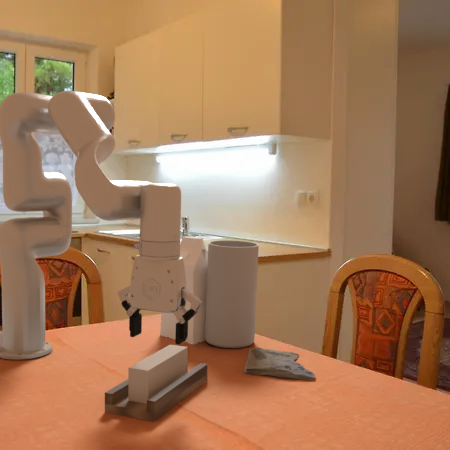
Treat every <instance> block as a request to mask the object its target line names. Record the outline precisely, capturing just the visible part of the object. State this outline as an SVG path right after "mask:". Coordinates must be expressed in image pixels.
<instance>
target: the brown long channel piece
mask: <svg viewBox="0 0 450 450" xmlns="http://www.w3.org/2000/svg"><path fill="white" fill-rule="evenodd" d="M206 382H208V364H207V363H202V362H200V363H199V364H197V365H196V366H194V367H193V368H192V369H189V370H188V372H187V373H186V374H184V375H183V376H181V377H180V378H178V379H177V380H175V381H174V382H173V383H171V384H170V385H168V386H167V387H165V388H164V389H162V390H161V391H160V392H158V393H157V394H155V395H154V396H152V397H151V398H149V399H148V400H147V404H146V403H140V402H134V401H129V400H128V378H127V379H125V380H124V381H122V382H121V383H119V384H117V385H116V386H113V387H112V388H110V389H109V390H107V391H105V392H104V413H106V414H107V413H108V414H114V415H117V416H118V415H119V416H123V417H128V418H129V417H130V418H134V419H140V420H146V421H150V422H156V421H157V420H159V419H160V418H161V417H162V416H164V415H165V414H166V413H167V412H169V411H170V410H172V409H173V408H174V407H175V406H177V405H178V404H179V403H181V402H183V400H184V399H185V398H187V397H188V396H190V395H191V394H192V393H193V392H195V391H196V390H198V389H199V388H200V387H201V386H203V385H204V384H205V383H206Z"/></svg>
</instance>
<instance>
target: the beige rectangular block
mask: <svg viewBox="0 0 450 450" xmlns="http://www.w3.org/2000/svg"><path fill="white" fill-rule="evenodd" d="M188 349H189V347H188V346H182V345H178V344H169V345H166V346H165V347H163V348H161V349H159V350H158V351H156V352H154V353H152V354H150V355H148V356H147V357H144V358H143V359H142V360H139V361H137V362H135V363H134V364H132V365H131V366H129V367H128V371H127V372H128V375H127V376H128V378H127V379H128V400H129V401H134V402H140V403H146V404H147V400H148V399H149V398H151V397H152V396H154V395H155V394H157V393H158V392H160V391H161V390H162V389H164V388H165V387H167V386H168V385H170V384H171V383H173V382H174V381H175V380H177V379H178V378H180V377H181V376H183V375H184V374H186V373H187V372H188V371H189V369H188V360H189V358H188V357H189V356H188V351H189V350H188Z"/></svg>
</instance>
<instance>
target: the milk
mask: <svg viewBox="0 0 450 450" xmlns="http://www.w3.org/2000/svg"><path fill="white" fill-rule="evenodd" d="M180 257H182V258H183V262H184V268H185V276H186V290H188V291H189V292H190V293H192V294H193V295H195V296H196V297H198V298H199V299H200V300H201V301H202V303H201V305H200V307H199V309H198V310H197V313H196V314H195V315H194V316H193V317H192V318H191V319H190V320H189V321H188V336H187V339H186V341H184V342H183V343H186V342H188V343H187V344H190V343H192V344H191V345H196V344H199V343H198V342H200V343H202V342H201V341H203V342H206V341H205V322H206V295H207V268H208V249H207V248H206V245H205V241H204V238H202V237H195V236H182V238H181V240H180ZM190 307H191V303H190V302H188V301H187V300H186V305H185V309H186V310H187V311H188V310H189V309H190ZM160 313H161V316H160V317H161V318H160V329H159V330H160V331H159V332H160V333H159V335H160V336H161V337H164V336H165V337H164V338H167V337H169V338H168V339H171V338H172V340H175V335H176V323H178V320H177V318H176V317H175V315H174V314H173V313H162V312H160ZM195 343H196V344H195Z"/></svg>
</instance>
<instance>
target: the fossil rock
mask: <svg viewBox="0 0 450 450" xmlns="http://www.w3.org/2000/svg"><path fill="white" fill-rule="evenodd" d="M248 350H249V351H248V354H247V355H248V356H247V358H246V359H247V360H246V362H245V365H244V374H250V375H251V374H252V375H255V376H256V375H257V376H271V377H275V378H276V377H277V378H282V379H292V380H293V379H295V380H306V381H307V380H309V381H314V380H315V379H316V375H315V373H314V372H313V371H311V370H309V369H306V368H305V367H304V366H303V364H301V363H299V362H295V361H297V360H298V359H299V356H300V354H299V353H295V352H293V351H284V350H283V351H281V350H276V349H268V348H263V347H262V348H261V347H258V346H256V347H254V348H250V349H248Z"/></svg>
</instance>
